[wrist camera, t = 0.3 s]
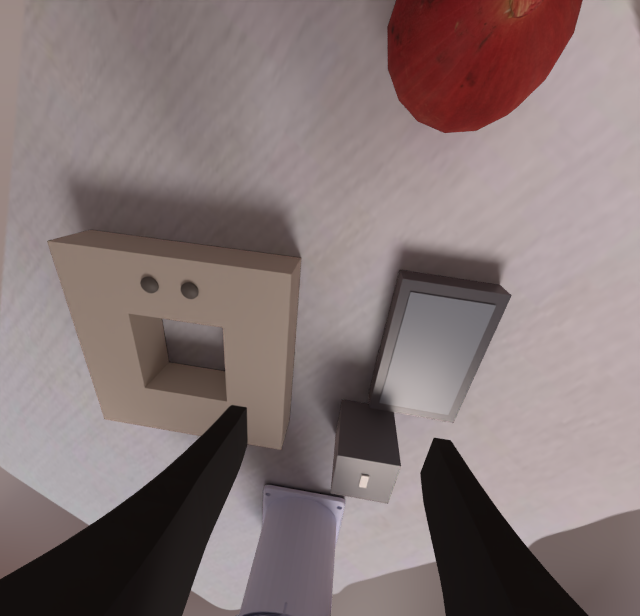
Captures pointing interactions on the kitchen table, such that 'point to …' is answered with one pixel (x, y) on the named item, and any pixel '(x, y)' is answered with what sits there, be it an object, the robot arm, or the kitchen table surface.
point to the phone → (434, 344)
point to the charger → (365, 453)
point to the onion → (474, 56)
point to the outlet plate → (187, 306)
